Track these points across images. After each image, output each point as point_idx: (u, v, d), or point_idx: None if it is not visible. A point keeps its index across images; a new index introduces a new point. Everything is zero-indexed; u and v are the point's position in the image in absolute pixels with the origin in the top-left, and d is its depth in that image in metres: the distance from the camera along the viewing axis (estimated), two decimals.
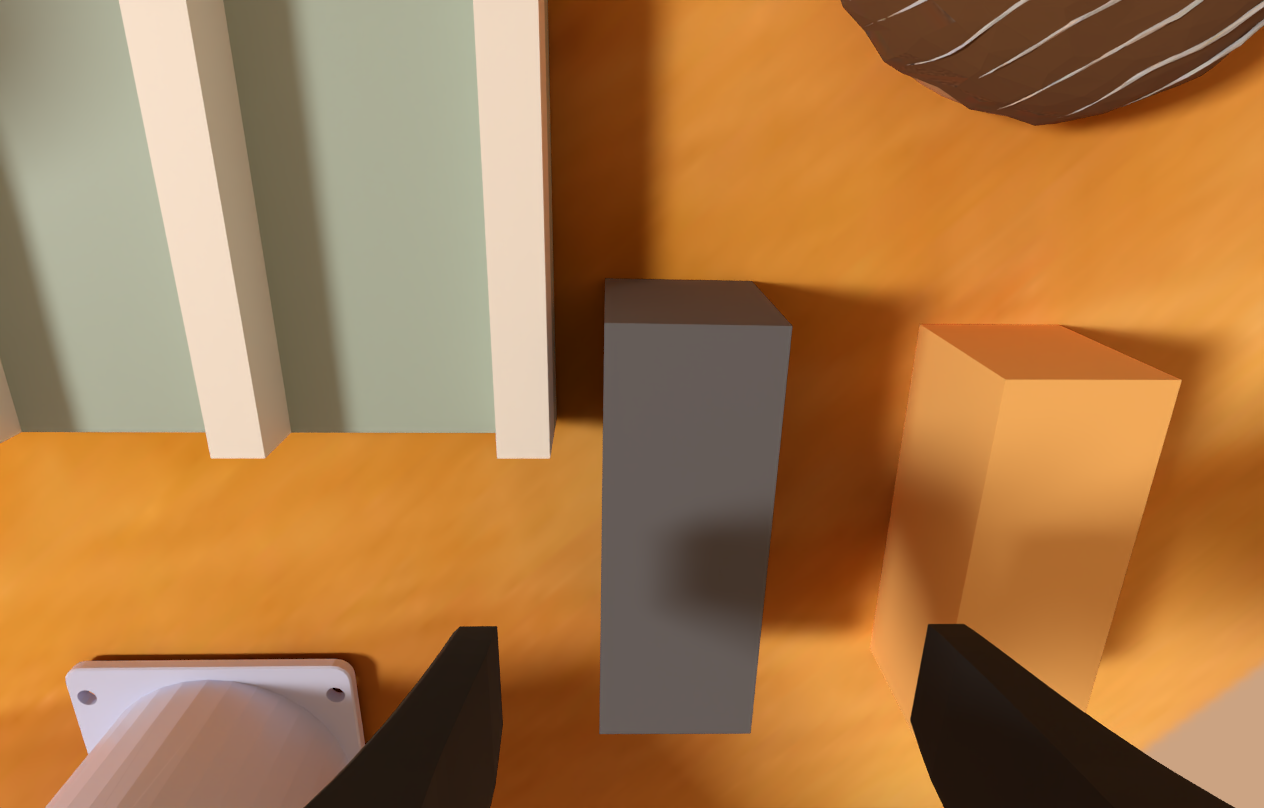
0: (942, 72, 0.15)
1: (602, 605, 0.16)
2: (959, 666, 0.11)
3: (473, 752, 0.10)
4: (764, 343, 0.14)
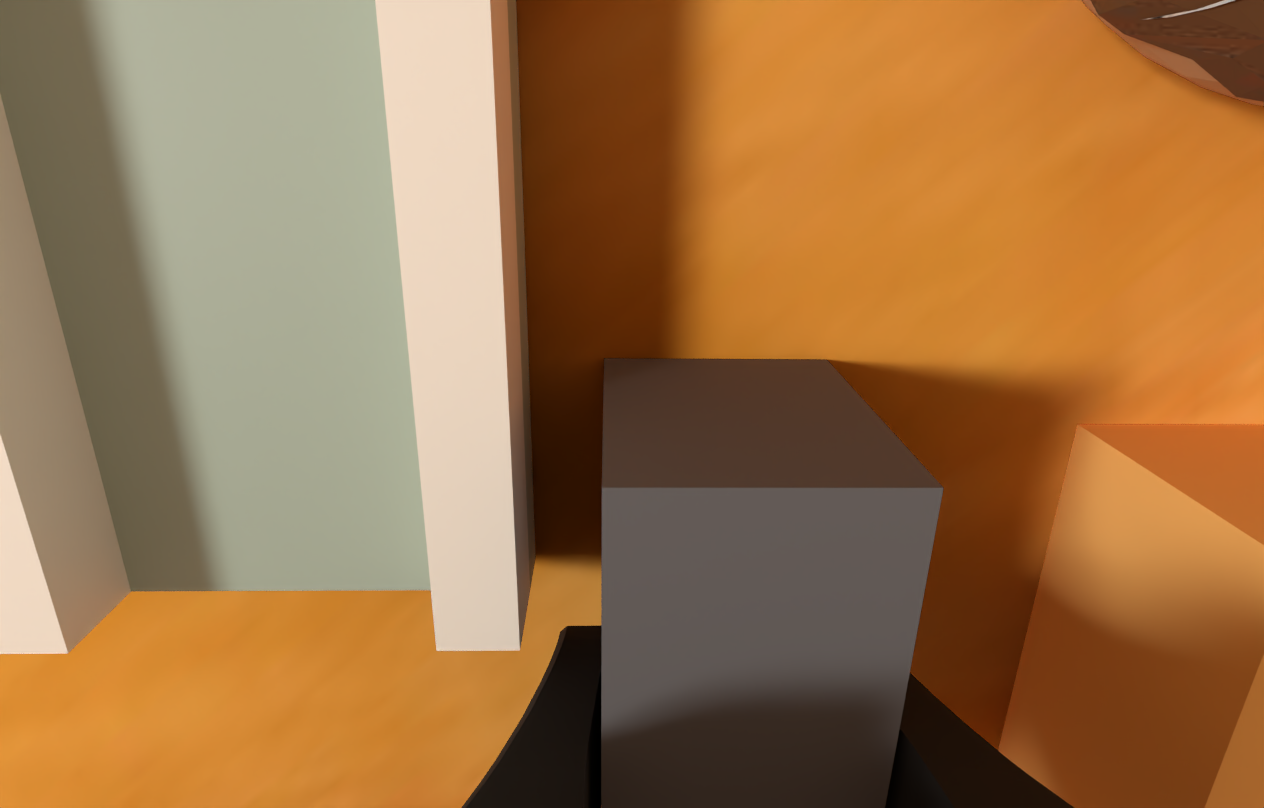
0: (1214, 30, 0.08)
1: None
2: None
3: (596, 751, 0.10)
4: (891, 517, 0.08)
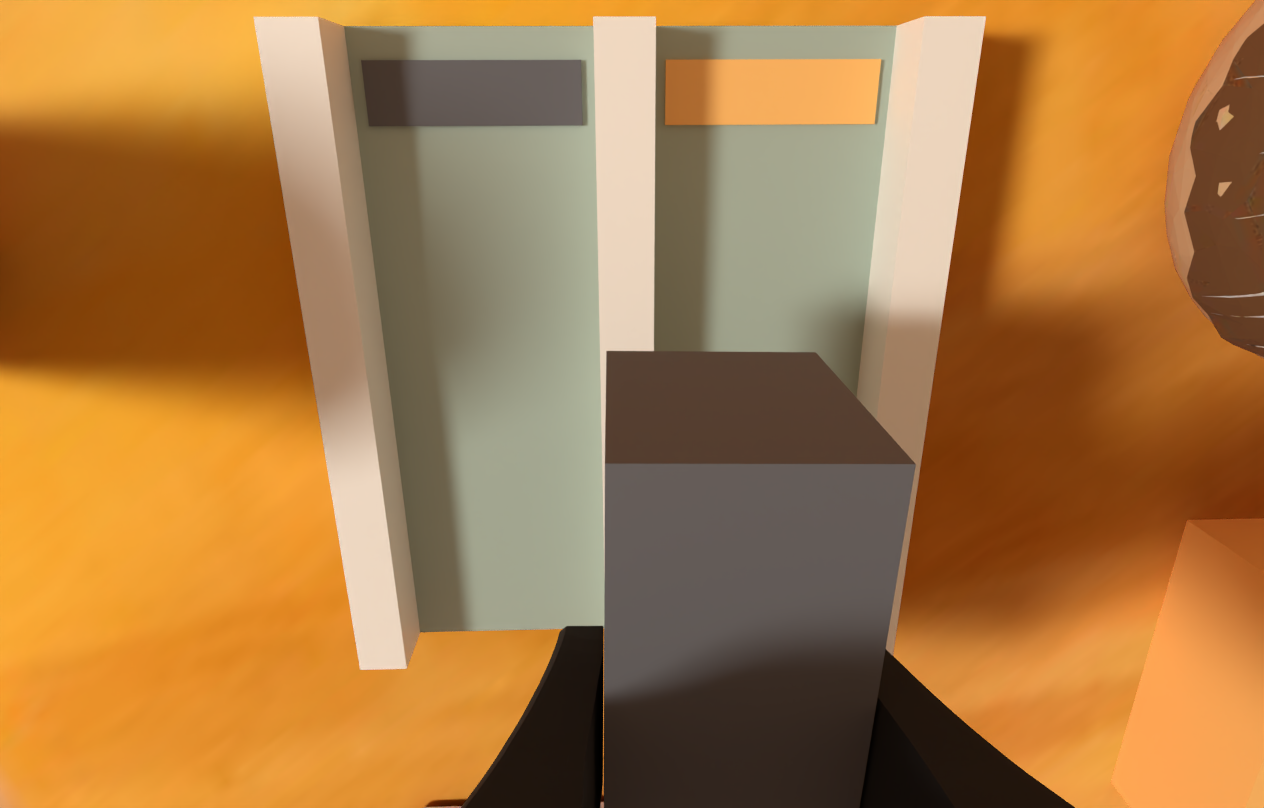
0: None
1: None
2: None
3: (595, 751, 0.10)
4: (868, 491, 0.09)
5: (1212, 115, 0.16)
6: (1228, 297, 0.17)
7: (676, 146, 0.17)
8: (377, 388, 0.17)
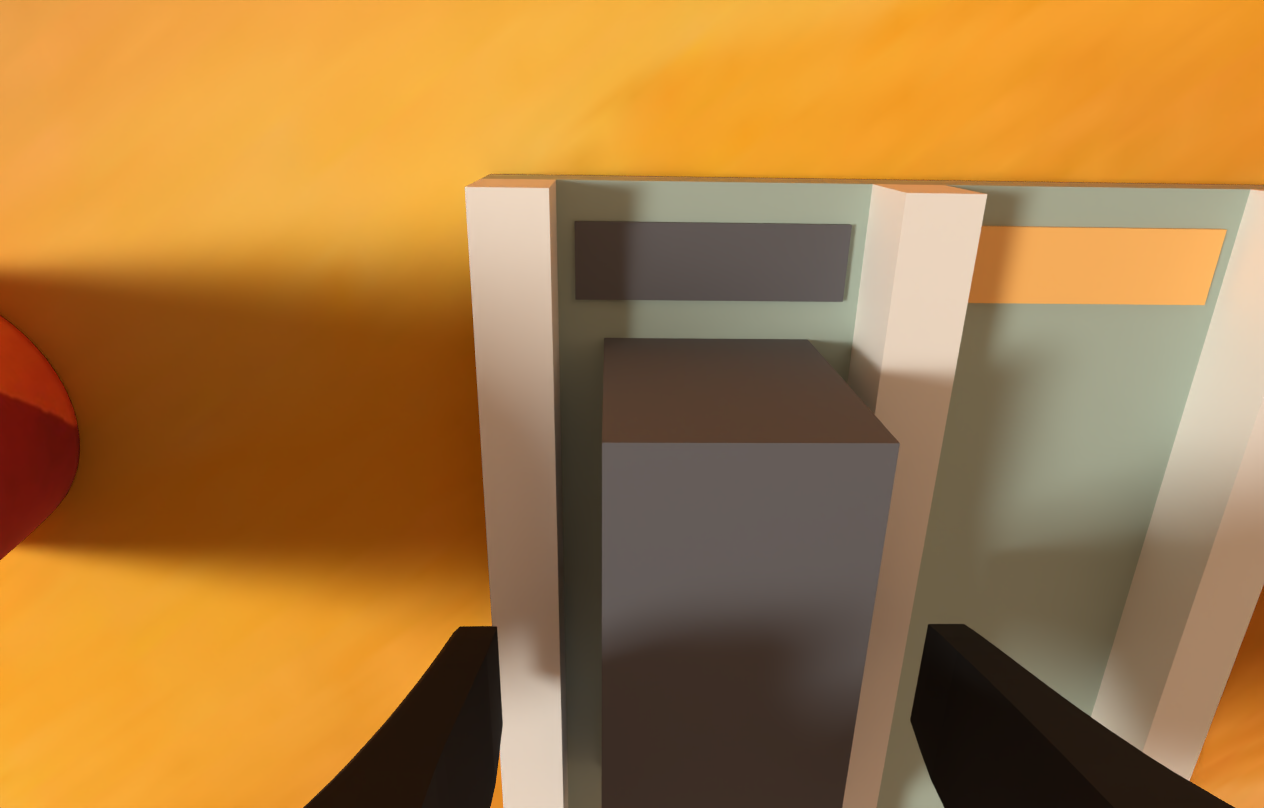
0: None
1: None
2: (959, 666, 0.11)
3: (473, 752, 0.10)
4: (854, 469, 0.09)
5: None
6: None
7: None
8: (561, 607, 0.14)
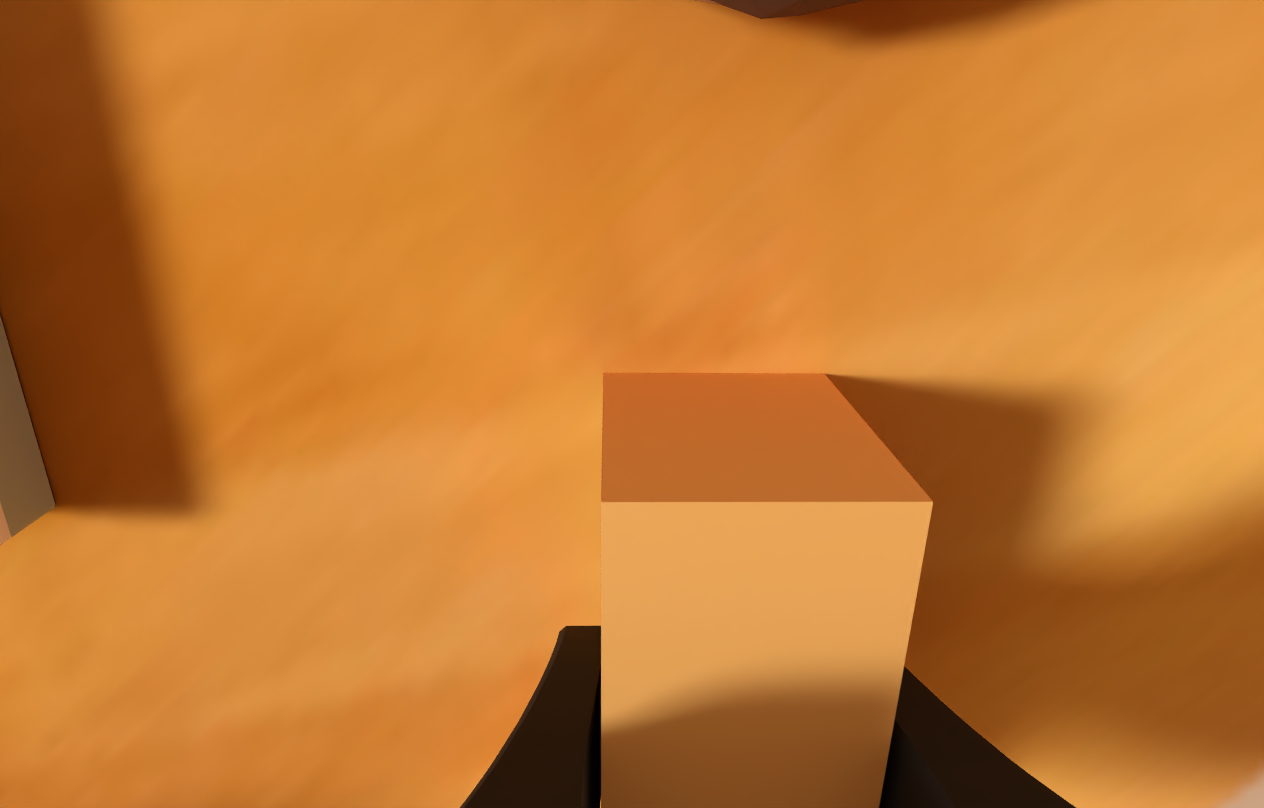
0: None
1: None
2: None
3: (595, 751, 0.10)
4: None
5: None
6: None
7: None
8: None
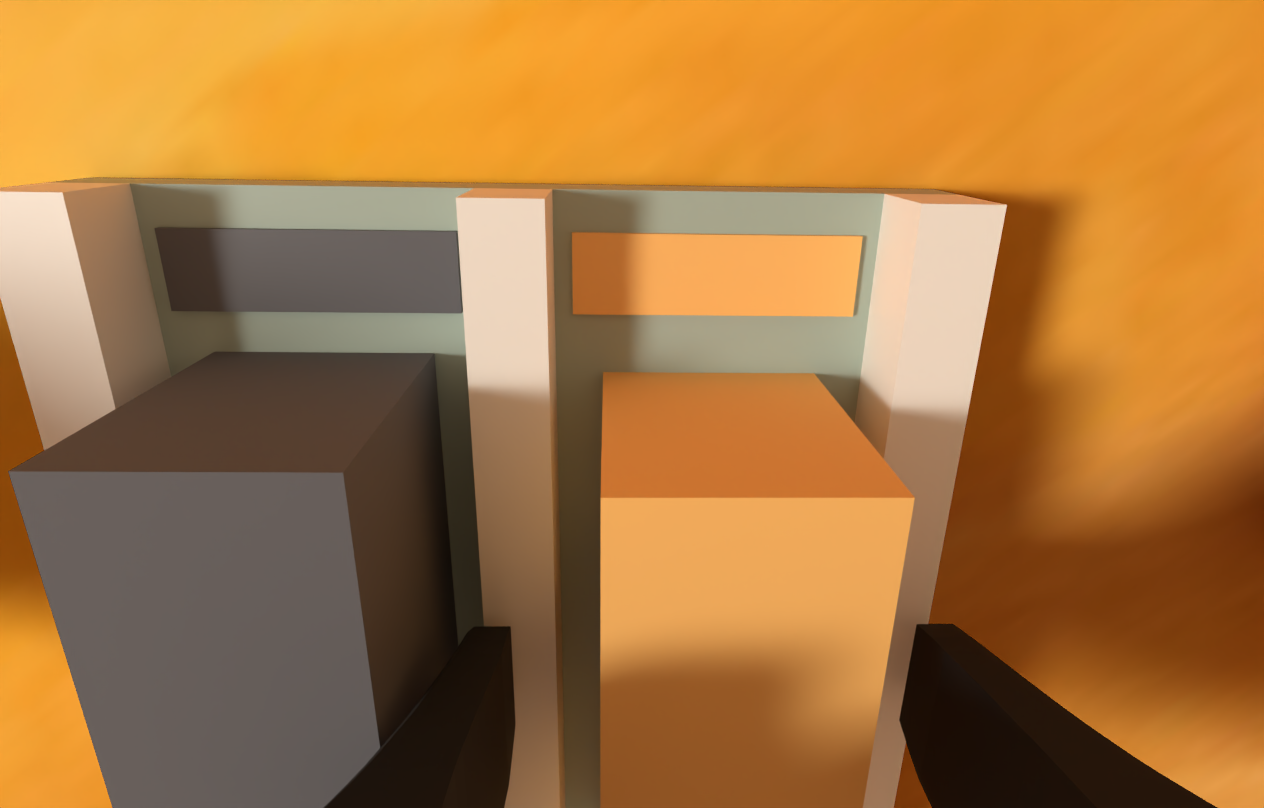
0: None
1: None
2: (947, 666, 0.11)
3: (488, 752, 0.10)
4: (301, 501, 0.08)
5: None
6: None
7: (589, 339, 0.12)
8: None
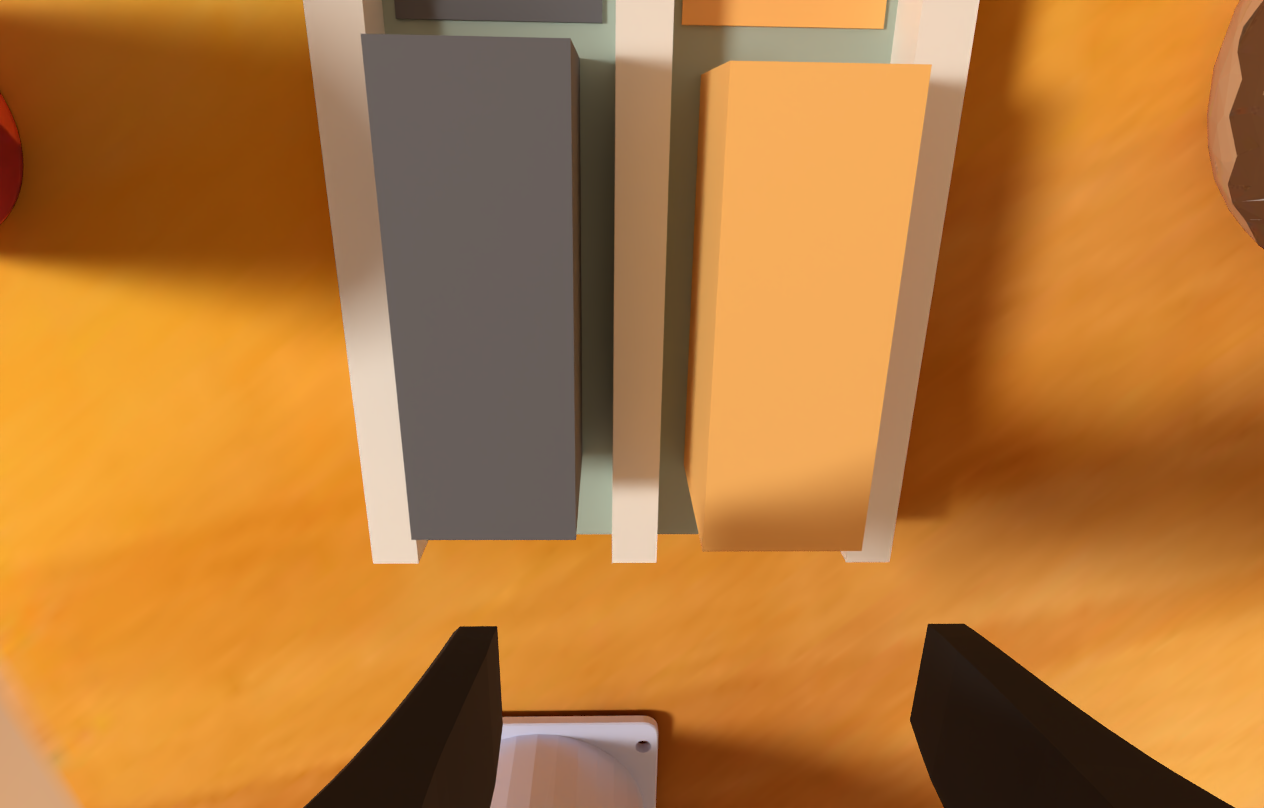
0: None
1: (397, 383, 0.15)
2: (959, 666, 0.11)
3: (473, 752, 0.10)
4: (541, 60, 0.13)
5: (1260, 18, 0.16)
6: None
7: (692, 46, 0.17)
8: None
